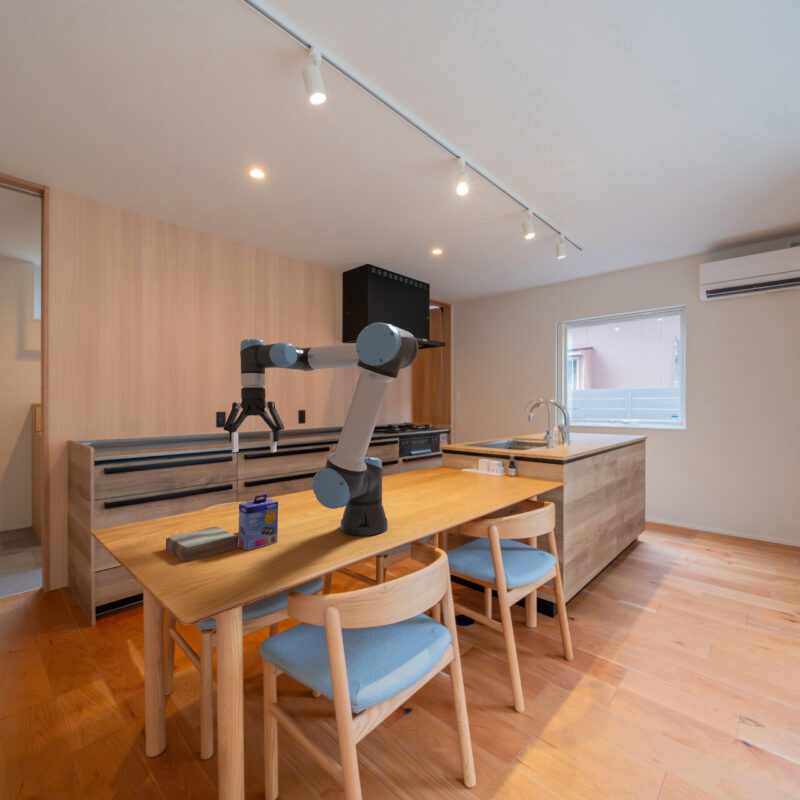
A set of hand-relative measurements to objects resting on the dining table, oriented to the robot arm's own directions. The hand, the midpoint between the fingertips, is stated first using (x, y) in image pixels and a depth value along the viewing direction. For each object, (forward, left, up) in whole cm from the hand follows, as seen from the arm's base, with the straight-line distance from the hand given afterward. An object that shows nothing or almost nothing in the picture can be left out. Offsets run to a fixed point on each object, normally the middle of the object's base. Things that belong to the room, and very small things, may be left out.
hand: (254, 452), depth 134 cm
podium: (-7, +20, -24) cm, 32 cm away
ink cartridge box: (-16, +8, -25) cm, 31 cm away
